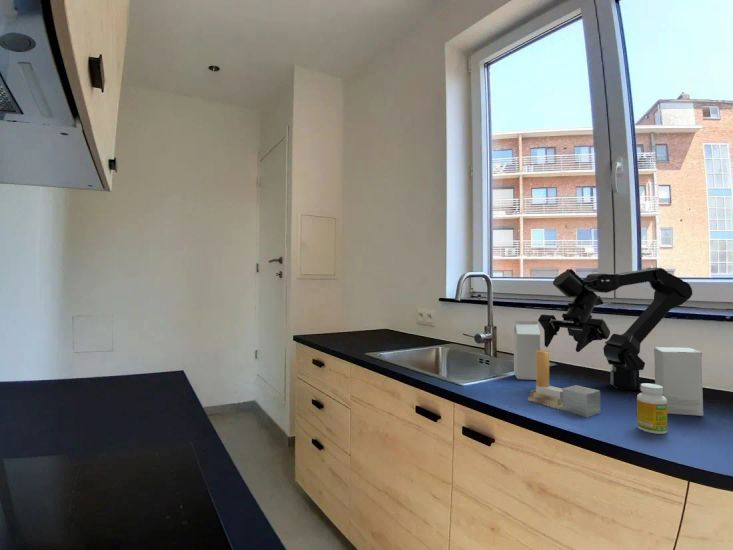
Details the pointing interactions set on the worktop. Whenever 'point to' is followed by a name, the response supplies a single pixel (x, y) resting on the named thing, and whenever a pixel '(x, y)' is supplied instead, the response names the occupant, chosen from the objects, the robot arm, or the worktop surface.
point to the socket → (581, 400)
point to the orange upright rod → (545, 377)
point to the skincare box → (680, 379)
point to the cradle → (545, 400)
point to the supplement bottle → (652, 409)
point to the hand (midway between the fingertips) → (560, 348)
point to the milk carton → (526, 349)
